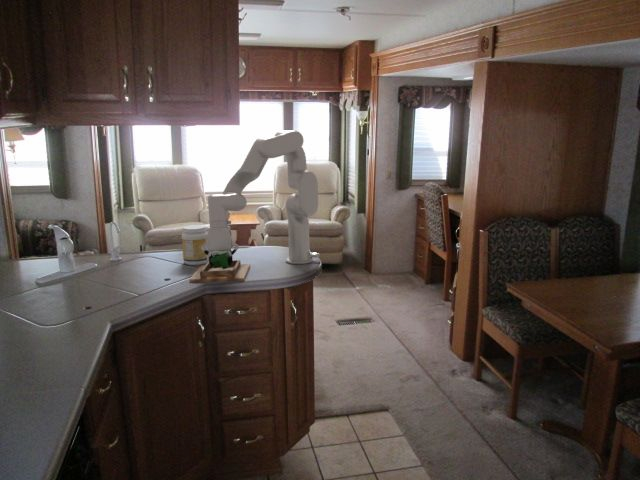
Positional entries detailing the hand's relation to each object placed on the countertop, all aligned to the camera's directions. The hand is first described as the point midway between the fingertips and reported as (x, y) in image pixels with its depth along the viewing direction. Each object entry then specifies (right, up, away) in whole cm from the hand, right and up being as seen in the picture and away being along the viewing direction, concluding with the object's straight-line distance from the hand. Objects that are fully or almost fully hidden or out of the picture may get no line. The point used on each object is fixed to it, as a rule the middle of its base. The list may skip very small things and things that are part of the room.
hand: (221, 264), depth 210 cm
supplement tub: (-16, 0, +21) cm, 26 cm away
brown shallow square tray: (0, -4, +1) cm, 4 cm away
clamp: (0, -1, 0) cm, 1 cm away
